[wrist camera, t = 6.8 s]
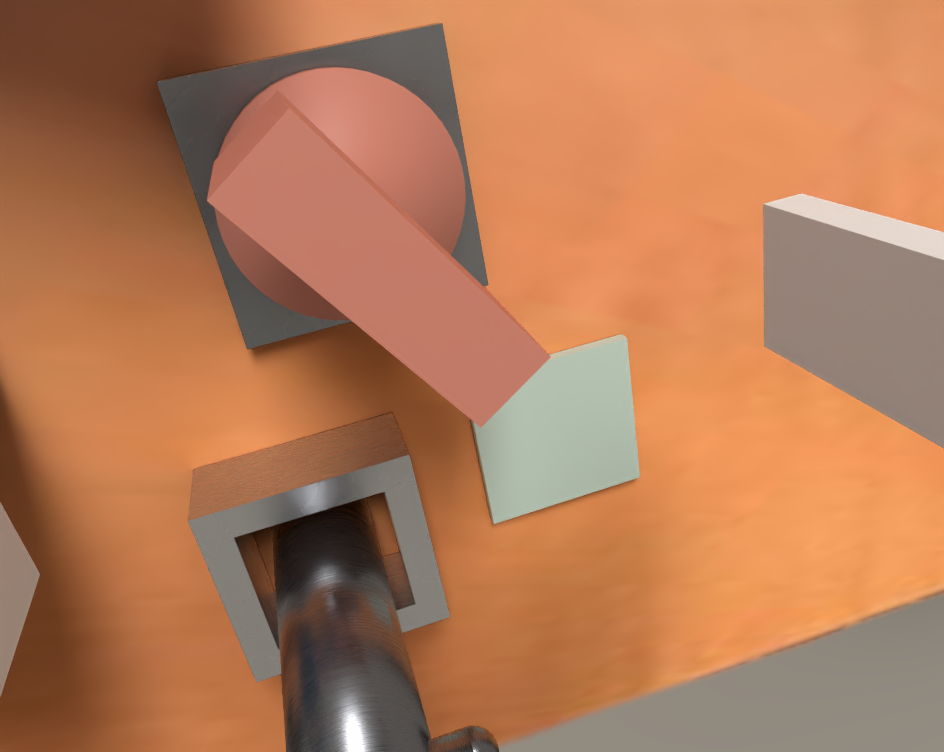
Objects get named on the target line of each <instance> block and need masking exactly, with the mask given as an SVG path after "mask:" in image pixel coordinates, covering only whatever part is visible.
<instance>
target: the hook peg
mask: <svg viewBox="0 0 944 752" xmlns="http://www.w3.org/2000/svg"><path fill="white" fill-rule="evenodd" d="M272 542H273V557H274V572H275V587H276V602H277V618H278V633H279V648H280V663H281V678H282V694H283V709H284V724H285V739H286V752H499V748H498V744H497V742H496V739H495V738H494V736H493V735H492V734H491V733H490V732H489V731H488V730H487V729H485V728H483V727H480V726H467V727H464V728H461V729H458V730H455V731H453V732H450V733H447V734H444V735H442V736H439V737H436V738H433V739H431V737H430V733H429V729H428V726H427V722H426V718H425V715H424V711H423V707H422V704H421V700H420V696H419V692H418V689H417V685H416V681H415V678H414V674H413V670H412V667H411V663H410V659H409V655H408V652H407V648H406V644H405V641H404V637H403V633H402V630H401V626H400V622H399V619H398V615H397V611H396V607H395V604H394V600H393V596H392V593H391V589H390V585H389V582H388V578H387V574H386V570H385V567H384V563H383V559H382V556H381V552H380V548H379V545H378V541H377V537H376V534H375V530H374V526H373V522H372V519H371V515H370V511H369V508H368V505H367V502H366V500H365V498H362V499H359V500H355V501H352V502H349V503H346V504H342V505H339V506H336V507H332V508H329V509H326V510H323V511H319V512H316V513H313V514H310V515H306V516H303V517H300V518H297V519H293V520H290V521H287V522H283V523H280V524H277V525H274V526H272Z"/></svg>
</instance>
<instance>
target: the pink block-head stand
mask: <svg viewBox="0 0 944 752" xmlns="http://www.w3.org/2000/svg"><path fill="white" fill-rule="evenodd" d="M465 200H466V196H465V180H464V175H463V169H462V165H461V162H460V158H459V155H458V152H457V149H456V147H455V145H454V143H453V141H452V138H451V136H450V135H449V133H448V131H447V130H446V128H445V127H444V125H443V123H442V122H441V121H440V119H439V118H438V117H437V116H436V115H435V113H434V112H433V111H432V110H431V109H430V108H429V107H428V106H427V105H426V104H425V103H424V102H423V101H422V100H421V99H420V98H419V97H417V96H416V95H415V94H413V93H412V92H410V91H409V90H408V89H406V88H405V87H403V86H401V85H399V84H397V83H395V82H393V81H392V80H390V79H387V78H384V77H382V76H379V75H376V74H373V73H370V72H367V71H363V70H358V69H353V68H343V67H324V68H315V69H310V70H305V71H301V72H298V73H295V74H292V75H290V76H287V77H284V78H283V79H281V80H279V81H277V82H275V83H273V84H271V85H270V86H268V87H267V88H266V89H264V90H263V91H261V92H260V93H259V94H257V95H256V96H255V97H254V98H253V99H252V100H251V101H250V102H249V103H248V104H247V105H246V106H245V107H244V108H243V109H242V111H241V112H240V113H239V115H238V116H237V117H236V119H235V120H234V121H233V123H232V125H231V127H230V129H229V130H228V132H227V134H226V136H225V139H224V141H223V144H222V146H221V149H220V152H219V156H218V158H217V159H216V160H215V161H214V164H213V170H212V175H211V180H210V186H209V191H208V197H207V201H208V202H209V203H210V204H211V205H212V206H214V208H215V214H216V219H217V224H218V227H219V230H220V233H221V236H222V239H223V242H224V244H225V246H226V248H227V250H228V252H229V254H230V256H231V258H232V259H233V261H234V262H235V264H236V265H237V267H238V268H239V270H240V271H241V272H242V273H243V274H244V275H245V277H246V278H247V279H248V280H249V281H250V282H251V283H252V284H253V285H254V286H255V287H256V288H257V289H258V290H260V291H261V292H262V293H263V294H265V295H266V296H267V297H269V298H270V299H272V300H273V301H275V302H276V303H278V304H280V305H282V306H284V307H286V308H288V309H290V310H292V311H295V312H298V313H300V314H303V315H306V316H310V317H315V318H319V319H327V320H351V321H352V322H354V323H355V324H356V325H357V326H359V327H360V328H361V329H362V330H363V331H365V332H366V333H367V334H368V335H369V336H371V337H372V338H373V339H374V340H375V341H377V342H378V343H379V344H380V345H381V346H383V347H384V348H385V349H386V350H388V351H389V352H390V353H391V354H392V355H394V356H395V357H396V358H397V359H398V360H400V361H401V362H402V363H403V364H404V365H406V366H407V367H408V368H409V369H410V370H412V371H413V372H414V373H415V374H416V375H418V376H419V377H420V378H421V379H423V380H424V381H425V382H426V383H427V384H429V385H430V386H431V387H432V388H433V389H435V390H436V391H437V392H438V393H439V394H441V395H442V396H443V397H444V398H445V399H447V400H448V401H449V402H450V403H452V404H453V405H454V406H455V407H456V408H458V409H459V410H460V411H461V412H462V413H464V414H465V415H466V416H467V417H468V418H470V419H471V420H472V421H473V422H474V423H476V424H477V425H478V426H479V427H482V426H483V425H484V424H485V423H486V422H487V421H488V420H489V419H490V418H491V417H492V416H493V415H494V414H495V413H496V412H497V411H498V410H499V409H500V408H501V407H502V406H503V405H504V404H505V403H506V402H507V401H508V400H509V399H510V398H511V397H512V396H513V395H514V394H515V393H516V392H517V391H518V390H519V389H520V388H521V387H522V386H523V385H524V384H525V383H526V382H527V381H528V380H529V379H530V378H531V377H532V376H533V375H534V374H535V373H536V372H537V371H538V370H539V369H540V368H541V367H542V366H543V365H544V364H545V363H546V362H547V361H548V360H549V359H550V357H551V356H550V355H549V354H548V353H547V352H546V351H545V350H544V349H543V348H542V347H541V346H540V345H539V344H538V343H537V342H536V341H535V340H534V338H533V337H532V336H531V335H530V334H529V333H528V332H527V331H526V330H525V329H524V328H523V327H522V326H521V325H520V324H519V323H518V322H517V321H516V320H515V318H514V317H513V316H512V315H511V314H510V313H509V312H508V311H507V310H506V309H505V308H504V307H503V306H502V305H501V304H500V303H499V302H498V301H497V300H496V299H495V297H494V296H493V295H492V294H491V293H490V292H489V291H488V290H487V289H486V288H484V287H483V286H482V285H481V284H480V283H479V282H478V281H477V280H476V279H475V278H474V277H473V276H472V275H471V274H470V273H469V272H468V271H467V270H466V269H465V268H464V267H463V266H461V265H460V264H459V263H458V262H457V261H456V260H455V259H454V258H453V257H452V256H451V254H452V252H453V250H454V248H455V245H456V243H457V240H458V237H459V234H460V231H461V228H462V223H463V218H464V213H465Z"/></svg>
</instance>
